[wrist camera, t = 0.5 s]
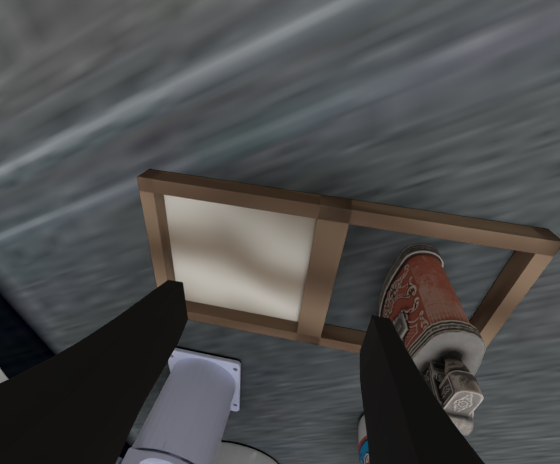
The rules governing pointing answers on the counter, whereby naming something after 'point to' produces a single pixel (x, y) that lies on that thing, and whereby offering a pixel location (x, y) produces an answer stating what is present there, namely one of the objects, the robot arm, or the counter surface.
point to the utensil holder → (240, 455)
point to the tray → (302, 253)
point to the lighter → (435, 331)
